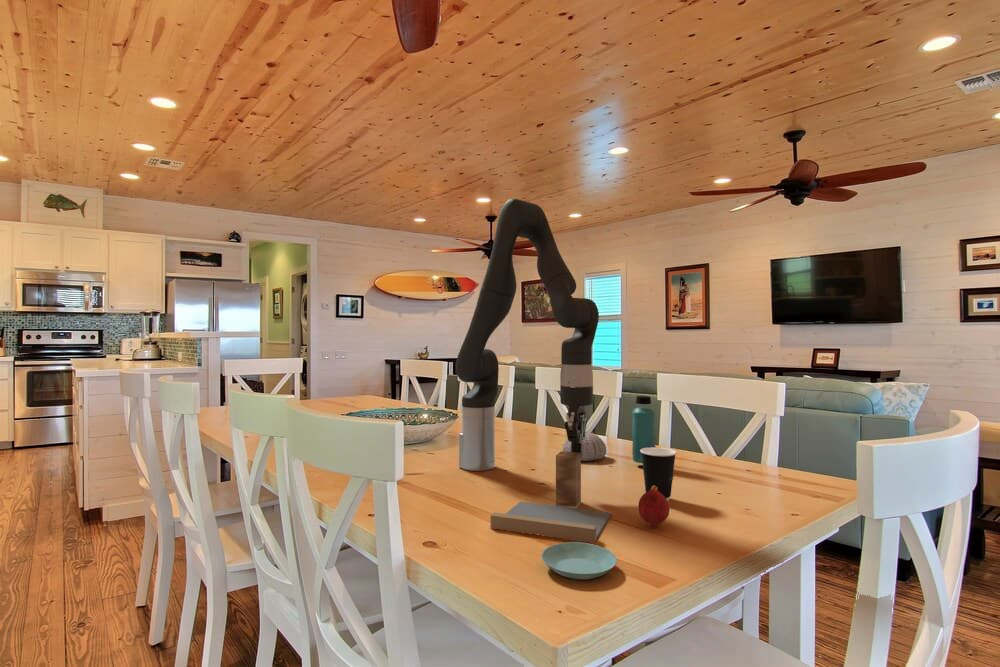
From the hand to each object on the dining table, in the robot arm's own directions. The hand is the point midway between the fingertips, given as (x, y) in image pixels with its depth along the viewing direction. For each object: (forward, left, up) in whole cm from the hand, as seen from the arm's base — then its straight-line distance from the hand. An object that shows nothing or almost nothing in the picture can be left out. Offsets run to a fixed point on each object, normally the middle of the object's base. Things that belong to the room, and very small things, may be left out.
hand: (576, 458), depth 126 cm
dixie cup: (+18, +4, -9) cm, 20 cm away
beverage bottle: (+11, +35, -9) cm, 38 cm away
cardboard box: (0, -7, -9) cm, 11 cm away
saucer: (+10, -39, -9) cm, 41 cm away
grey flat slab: (0, -18, -9) cm, 20 cm away
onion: (+19, -15, -9) cm, 26 cm away
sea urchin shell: (-7, +39, -9) cm, 41 cm away
